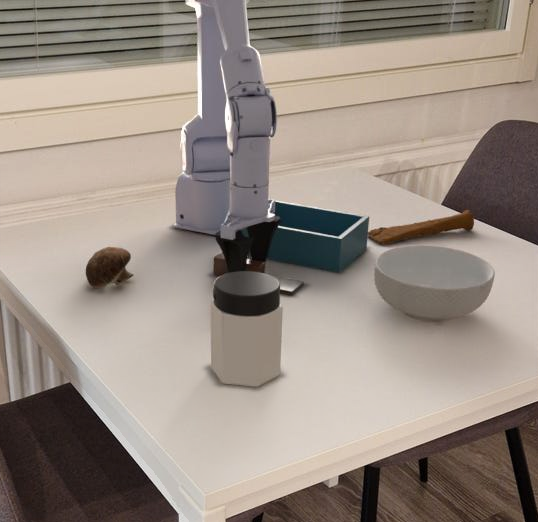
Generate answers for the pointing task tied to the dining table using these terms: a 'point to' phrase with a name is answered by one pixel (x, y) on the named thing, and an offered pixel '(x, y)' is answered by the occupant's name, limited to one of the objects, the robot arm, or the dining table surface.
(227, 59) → the robot arm
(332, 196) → the dining table surface
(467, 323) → the dining table surface
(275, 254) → the bin
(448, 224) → the primitive tool
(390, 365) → the dining table surface
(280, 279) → the scraper
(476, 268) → the cereal bowl
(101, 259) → the mushroom
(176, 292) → the dining table surface
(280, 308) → the jar
